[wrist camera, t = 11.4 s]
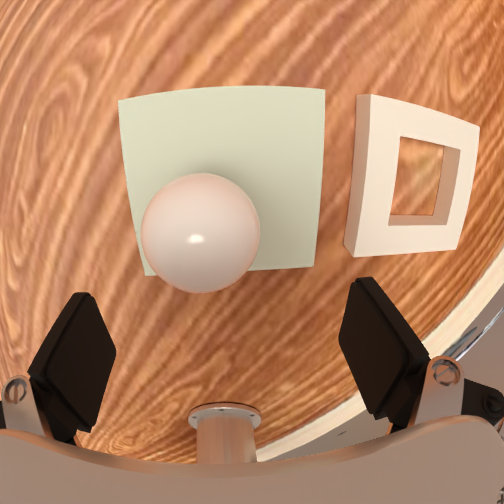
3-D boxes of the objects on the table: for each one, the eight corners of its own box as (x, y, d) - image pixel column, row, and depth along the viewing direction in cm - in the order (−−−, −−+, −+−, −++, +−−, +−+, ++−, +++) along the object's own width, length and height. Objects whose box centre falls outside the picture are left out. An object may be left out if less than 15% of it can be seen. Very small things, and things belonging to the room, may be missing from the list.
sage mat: (312, 263, 26) (313, 266, 25) (146, 272, 25) (145, 275, 24) (322, 90, 18) (325, 89, 18) (120, 100, 17) (118, 100, 16)
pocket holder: (443, 239, 26) (455, 249, 24) (343, 244, 25) (353, 257, 23) (463, 123, 19) (479, 127, 17) (356, 94, 18) (370, 94, 16)
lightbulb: (169, 224, 22) (133, 313, 13) (171, 149, 19) (119, 190, 10) (244, 229, 23) (257, 321, 13) (253, 155, 20) (279, 200, 10)
